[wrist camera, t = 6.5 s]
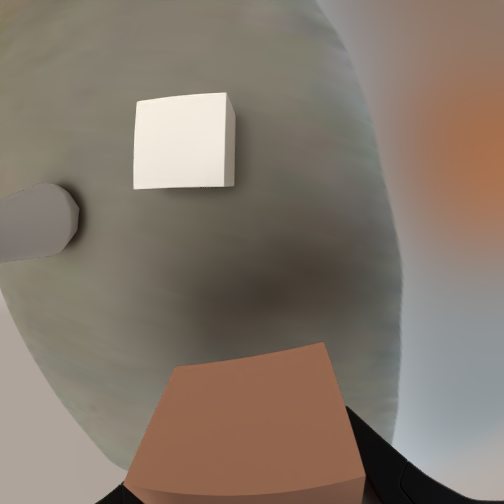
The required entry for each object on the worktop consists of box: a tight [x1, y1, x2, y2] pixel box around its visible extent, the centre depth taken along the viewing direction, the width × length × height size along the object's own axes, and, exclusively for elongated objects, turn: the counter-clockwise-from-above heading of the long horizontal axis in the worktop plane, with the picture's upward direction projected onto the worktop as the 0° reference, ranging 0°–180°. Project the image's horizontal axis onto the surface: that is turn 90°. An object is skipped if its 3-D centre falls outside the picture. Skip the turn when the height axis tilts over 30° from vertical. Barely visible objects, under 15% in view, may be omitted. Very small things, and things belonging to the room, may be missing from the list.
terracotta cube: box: [123, 342, 366, 504], centre depth 7 cm, size 5×5×5 cm
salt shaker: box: [0, 183, 79, 263], centre depth 13 cm, size 6×6×13 cm
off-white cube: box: [134, 93, 236, 189], centre depth 16 cm, size 5×5×5 cm
